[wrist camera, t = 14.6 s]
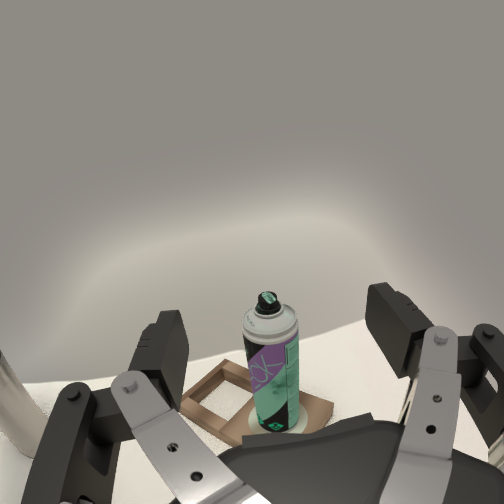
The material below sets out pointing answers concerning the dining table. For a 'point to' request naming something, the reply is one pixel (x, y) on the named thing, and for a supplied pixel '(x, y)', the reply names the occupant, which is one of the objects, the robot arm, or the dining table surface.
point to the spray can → (273, 362)
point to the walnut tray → (246, 407)
